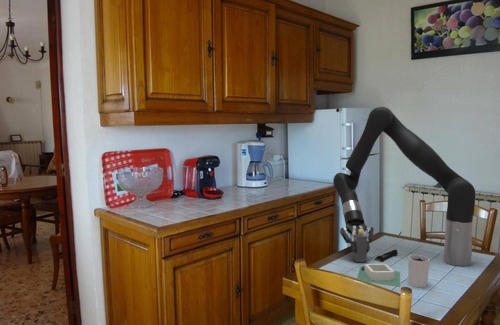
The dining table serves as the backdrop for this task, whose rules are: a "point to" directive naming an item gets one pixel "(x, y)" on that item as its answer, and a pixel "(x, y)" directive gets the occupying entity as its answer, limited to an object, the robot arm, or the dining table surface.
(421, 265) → the grey cup
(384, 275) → the socket
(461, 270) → the dining table surface
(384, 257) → the electric trimmer
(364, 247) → the plug
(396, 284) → the circuit board
